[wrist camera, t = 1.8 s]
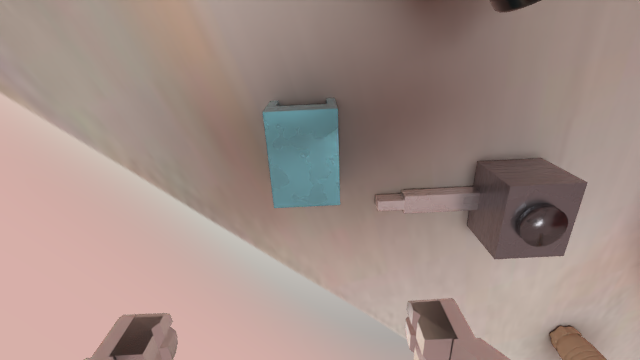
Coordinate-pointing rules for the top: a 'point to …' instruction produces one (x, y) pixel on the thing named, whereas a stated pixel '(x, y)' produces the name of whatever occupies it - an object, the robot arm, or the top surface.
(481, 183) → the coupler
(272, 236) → the top surface
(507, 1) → the ball valve
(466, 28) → the top surface
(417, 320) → the robot arm
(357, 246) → the top surface
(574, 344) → the handle
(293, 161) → the teal storage bin
